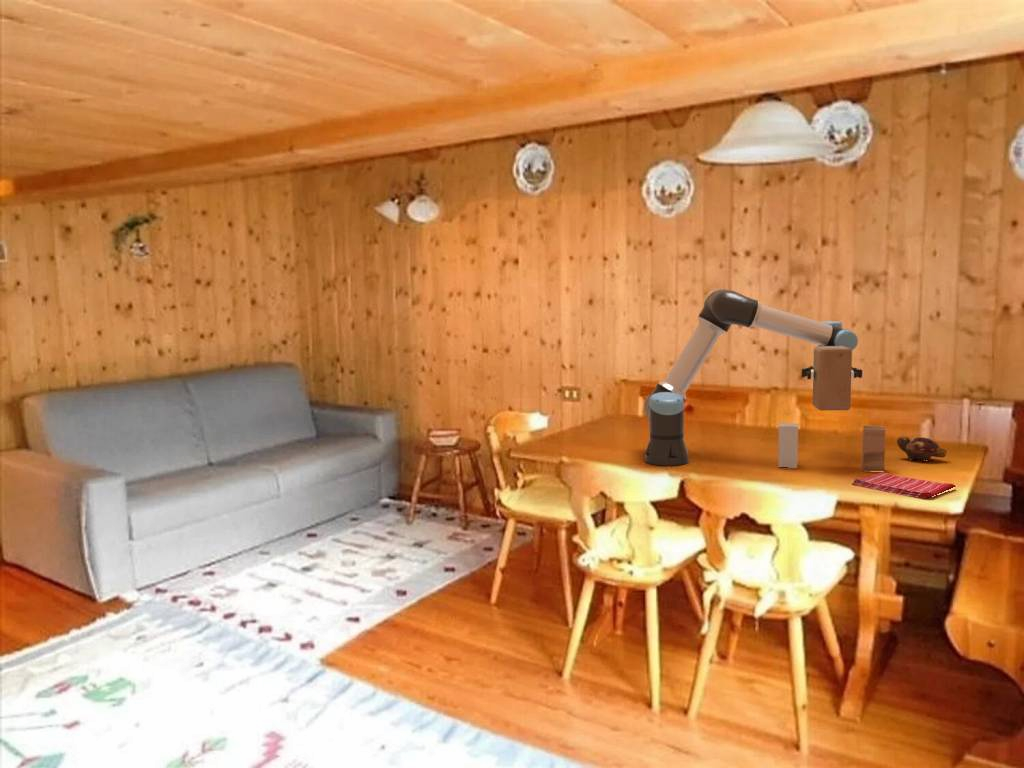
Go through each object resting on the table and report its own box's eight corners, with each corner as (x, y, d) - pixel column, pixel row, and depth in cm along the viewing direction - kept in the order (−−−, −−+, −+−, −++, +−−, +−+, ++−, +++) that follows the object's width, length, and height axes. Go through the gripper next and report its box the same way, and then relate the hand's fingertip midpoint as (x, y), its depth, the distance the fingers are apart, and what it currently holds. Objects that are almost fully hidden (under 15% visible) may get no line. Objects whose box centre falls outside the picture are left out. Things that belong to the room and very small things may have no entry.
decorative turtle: (894, 455, 282) (896, 433, 281) (943, 461, 276) (946, 438, 275) (896, 460, 273) (898, 437, 272) (946, 466, 267) (949, 442, 266)
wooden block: (851, 410, 259) (852, 348, 256) (818, 410, 260) (819, 348, 258) (843, 405, 268) (845, 345, 266) (811, 405, 270) (813, 346, 268)
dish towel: (928, 502, 227) (929, 493, 226) (850, 486, 246) (850, 477, 245) (958, 491, 237) (958, 482, 236) (881, 477, 256) (881, 468, 255)
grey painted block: (797, 468, 268) (798, 426, 266) (778, 467, 270) (778, 426, 268) (797, 464, 273) (798, 423, 271) (778, 463, 275) (779, 423, 273)
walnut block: (883, 472, 259) (885, 429, 257) (863, 471, 261) (864, 429, 259) (882, 468, 264) (883, 426, 262) (862, 467, 266) (863, 425, 265)
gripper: (867, 379, 276) (872, 388, 256) (793, 378, 284) (793, 387, 264) (867, 358, 275) (872, 364, 255) (794, 357, 283) (793, 364, 263)
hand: (832, 376), depth 259 cm, fingers closed on wooden block, 11 cm apart
